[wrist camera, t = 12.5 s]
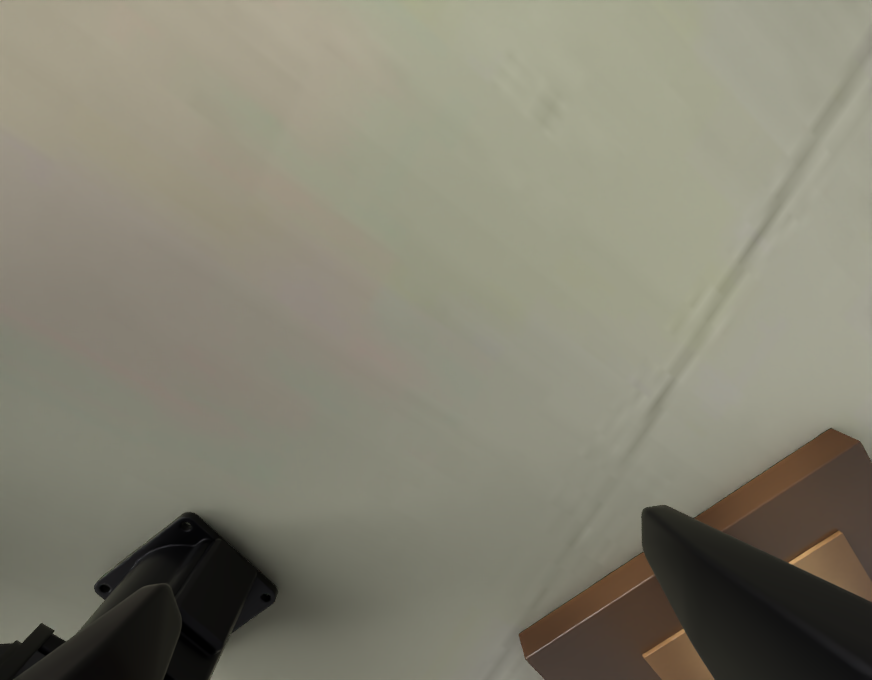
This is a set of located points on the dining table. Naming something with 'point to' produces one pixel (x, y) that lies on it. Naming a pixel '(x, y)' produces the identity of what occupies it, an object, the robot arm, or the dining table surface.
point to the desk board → (740, 518)
